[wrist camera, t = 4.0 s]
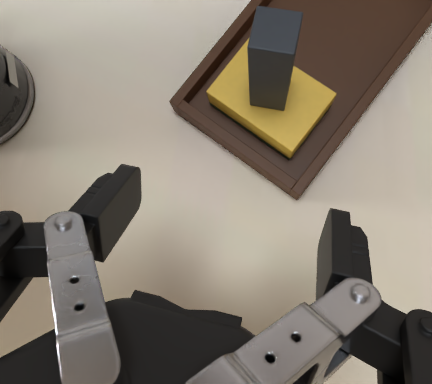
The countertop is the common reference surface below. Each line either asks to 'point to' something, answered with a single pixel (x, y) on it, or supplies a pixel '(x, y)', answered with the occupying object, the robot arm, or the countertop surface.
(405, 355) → the robot arm
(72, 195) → the countertop surface
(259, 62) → the grey post with base
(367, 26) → the tray
